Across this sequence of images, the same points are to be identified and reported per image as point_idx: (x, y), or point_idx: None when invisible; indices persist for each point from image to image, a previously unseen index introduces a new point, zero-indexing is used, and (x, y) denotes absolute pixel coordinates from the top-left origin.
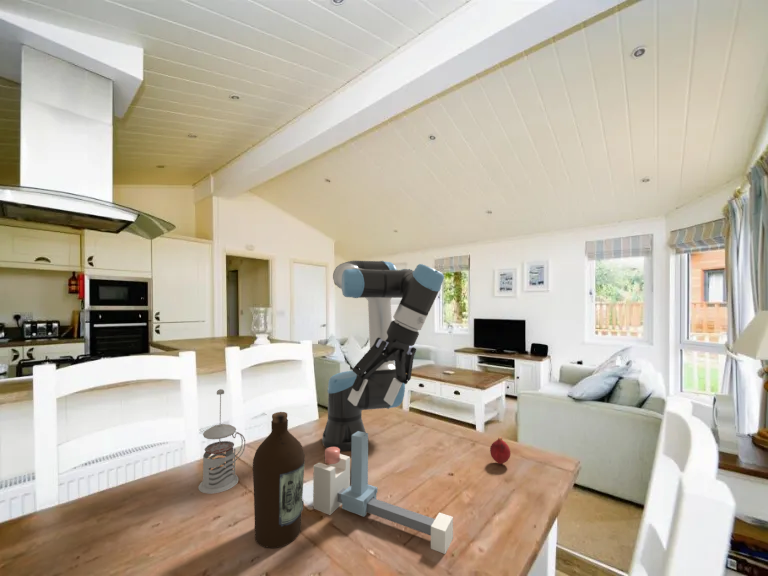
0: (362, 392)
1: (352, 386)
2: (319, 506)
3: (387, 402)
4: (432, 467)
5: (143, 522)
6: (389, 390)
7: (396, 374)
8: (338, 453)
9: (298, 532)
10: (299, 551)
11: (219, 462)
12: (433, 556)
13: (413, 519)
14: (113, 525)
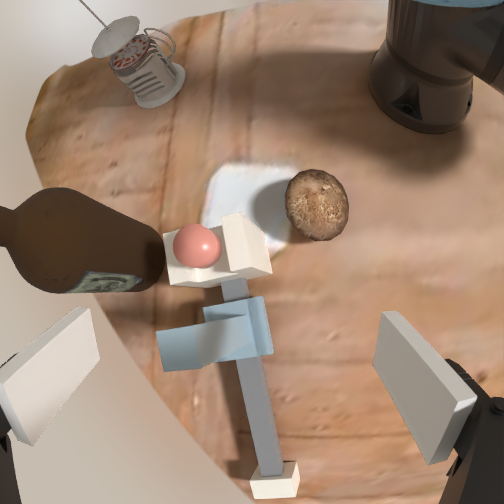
0: (66, 399)
1: (16, 354)
2: None
3: (377, 343)
4: (483, 330)
5: (77, 125)
6: (408, 355)
7: (476, 434)
8: (197, 266)
9: (145, 288)
10: (134, 315)
11: (124, 80)
12: (248, 471)
13: (255, 447)
14: (66, 115)
